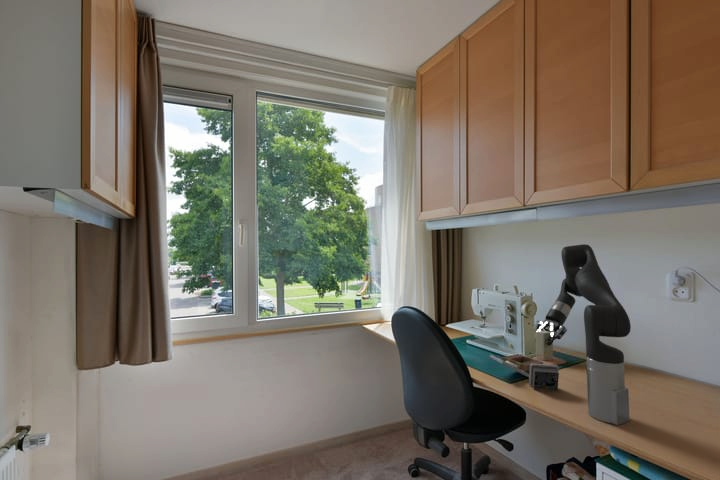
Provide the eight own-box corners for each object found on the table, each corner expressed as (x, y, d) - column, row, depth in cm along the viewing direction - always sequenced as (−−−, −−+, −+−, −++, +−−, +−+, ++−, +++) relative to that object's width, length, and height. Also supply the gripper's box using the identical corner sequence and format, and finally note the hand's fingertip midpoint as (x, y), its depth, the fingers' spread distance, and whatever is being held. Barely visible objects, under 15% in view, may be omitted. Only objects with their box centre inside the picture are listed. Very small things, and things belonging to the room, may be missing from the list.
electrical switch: (557, 387, 122) (557, 363, 122) (561, 395, 117) (561, 369, 117) (528, 385, 125) (528, 361, 124) (532, 392, 120) (531, 367, 119)
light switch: (533, 374, 131) (504, 358, 129) (527, 388, 130) (497, 373, 128) (519, 366, 139) (491, 352, 137) (513, 380, 138) (485, 365, 136)
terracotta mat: (566, 362, 148) (566, 361, 148) (547, 367, 143) (547, 365, 143) (541, 355, 159) (541, 353, 159) (523, 358, 154) (523, 357, 154)
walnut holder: (543, 369, 141) (542, 362, 141) (526, 373, 137) (525, 365, 137) (519, 360, 152) (518, 353, 152) (502, 364, 147) (502, 357, 148)
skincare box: (544, 361, 148) (543, 333, 148) (535, 358, 152) (534, 331, 152) (553, 359, 151) (553, 331, 151) (544, 356, 155) (543, 329, 155)
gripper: (540, 306, 161) (523, 333, 156) (569, 310, 148) (551, 341, 143) (548, 316, 163) (531, 343, 158) (577, 321, 150) (560, 352, 145)
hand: (541, 342), depth 151 cm, fingers open, 6 cm apart
